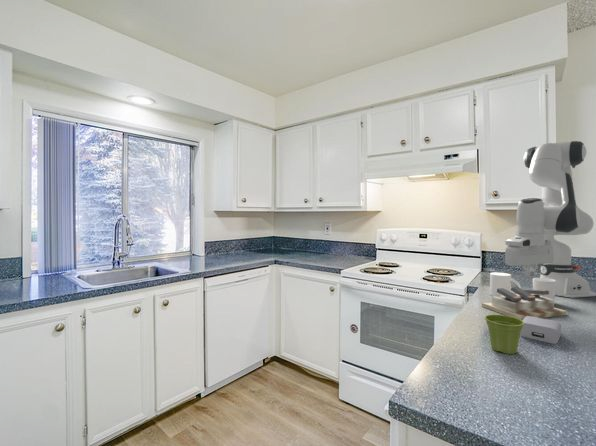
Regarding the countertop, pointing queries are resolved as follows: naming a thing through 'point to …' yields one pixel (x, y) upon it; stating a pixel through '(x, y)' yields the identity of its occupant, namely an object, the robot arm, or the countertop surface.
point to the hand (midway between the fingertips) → (529, 275)
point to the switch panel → (520, 316)
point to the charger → (541, 329)
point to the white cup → (545, 286)
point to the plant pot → (504, 332)
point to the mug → (501, 283)
